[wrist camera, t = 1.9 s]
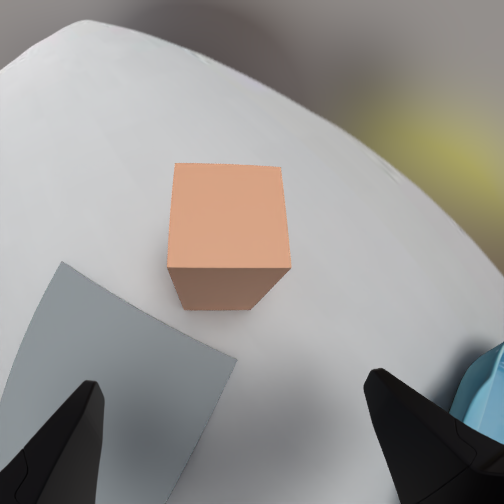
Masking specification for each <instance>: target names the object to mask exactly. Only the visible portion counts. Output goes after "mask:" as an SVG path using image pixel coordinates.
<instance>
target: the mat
mask: <svg viewBox="0 0 504 504" xmlns="http://www.w3.org/2000/svg"><path fill="white" fill-rule="evenodd" d="M236 362H237V359H235V358H233V357H230V356H228V355H226V354H224V353H222V352H220V351H218V350H215V349H213V348H211V347H209V346H207V345H205V344H203V343H201V342H199V341H197V340H195V339H193V338H191V337H189V336H187V335H185V334H183V333H181V332H179V331H177V330H175V329H174V328H172V327H170V326H168V325H166V324H164V323H162V322H160V321H159V320H157V319H155V318H153V317H151V316H150V315H148V314H146V313H144V312H142V311H141V310H139V309H137V308H135V307H134V306H132V305H130V304H129V303H127V302H125V301H123V300H122V299H120V298H118V297H117V296H115V295H113V294H112V293H110V292H109V291H107V290H105V289H104V288H102V287H100V286H99V285H97V284H96V283H94V282H93V281H91V280H89V279H88V278H86V277H85V276H83V275H82V274H80V273H79V272H77V271H76V270H74V269H73V268H71V267H70V266H68V265H67V264H65V263H64V262H61V263H60V265H59V267H58V269H57V271H56V272H55V274H54V276H53V278H52V280H51V282H50V283H49V285H48V287H47V289H46V291H45V293H44V295H43V297H42V299H41V301H40V303H39V305H38V307H37V309H36V311H35V313H34V315H33V318H32V320H31V322H30V324H29V326H28V329H27V331H26V333H25V336H24V338H23V340H22V343H21V345H20V348H19V350H18V353H17V355H16V358H15V360H14V363H13V366H12V368H11V371H10V374H9V377H8V380H7V383H6V386H5V389H4V392H3V395H2V399H1V402H0V471H1V470H2V469H3V468H4V467H5V466H7V465H8V464H9V462H10V461H11V460H12V459H13V458H14V457H15V456H16V455H17V454H18V453H19V451H20V450H21V449H24V446H25V445H26V444H27V443H28V441H29V440H30V439H31V438H32V437H33V436H34V435H35V434H36V432H37V431H38V430H39V429H40V428H41V427H42V426H43V425H44V424H45V422H46V421H47V420H48V419H49V418H50V417H51V416H52V415H53V414H54V413H55V411H56V410H57V409H58V408H59V407H60V406H61V405H62V404H63V403H64V402H65V401H66V399H67V398H68V397H69V396H70V395H71V394H72V393H73V392H74V391H75V390H76V389H77V388H78V387H79V386H80V384H81V383H82V382H83V381H85V380H93V381H97V382H98V384H99V386H100V388H101V391H102V393H103V395H104V399H105V407H104V422H103V442H102V450H101V457H100V464H99V472H98V480H97V490H96V500H95V504H166V502H167V500H168V498H169V496H170V494H171V492H172V490H173V489H174V487H175V485H176V483H177V481H178V479H179V477H180V475H181V473H182V471H183V470H184V468H185V466H186V464H187V462H188V460H189V458H190V456H191V454H192V452H193V450H194V448H195V446H196V444H197V442H198V440H199V438H200V436H201V434H202V432H203V430H204V428H205V426H206V424H207V422H208V420H209V418H210V416H211V414H212V412H213V410H214V408H215V406H216V404H217V402H218V400H219V398H220V396H221V394H222V391H223V389H224V387H225V385H226V383H227V381H228V379H229V377H230V375H231V373H232V371H233V368H234V366H235V364H236Z"/></svg>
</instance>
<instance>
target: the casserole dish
mask: <svg viewBox="0 0 504 504" xmlns="http://www.w3.org/2000/svg"><path fill="white" fill-rule="evenodd" d="M449 414H451V415H452V416H454V418H457V419H458V420H460V421H461V422H463V423H464V424H466V425H468V426H469V427H471V428H473V429H474V430H476V431H478V432H480V433H482V434H484V435H486V436H488V437H490V438H492V439H494V440H495V441H497V442H499V443H502V444H504V342H503V343H501V344H500V345H498V346H496V347H495V348H493V349H491V350H490V351H488V352H486V353H485V354H483V355H482V356H481V357H479V358H478V359H477V360H476V361H475V362H473V364H472V365H471V366H470V367H469V368H468V370H467V371H466V373H465V375H464V377H463V378H462V381H461V383H460V385H459V388H458V390H457V393H456V396H455V398H454V401H453V403H452V406H451V409H450V411H449Z"/></svg>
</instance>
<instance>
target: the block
mask: <svg viewBox="0 0 504 504" xmlns="http://www.w3.org/2000/svg"><path fill="white" fill-rule="evenodd" d="M167 268H168V271H169V274H170V276H171V279H172V281H173V284H174V286H175V289H176V291H177V294H178V296H179V299H180V301H181V304H182V306H183V308H184V310H251V309H252V308H253V307H254V306H255V305H256V304H257V303H258V302H259V301H260V300H261V299H262V298H263V297H264V296H265V295H266V294H267V292H268V291H269V290H270V289H271V288H272V287H273V286H274V285H275V284H276V283H277V282H278V281H279V280H280V279H281V278H282V277H283V276H284V275H285V274H286V273H287V272H288V271H289V270H290V269H291V258H290V248H289V237H288V227H287V218H286V208H285V199H284V190H283V182H282V173H281V167H270V166H254V165H234V164H202V163H175V169H174V178H173V188H172V199H171V211H170V224H169V239H168V258H167Z"/></svg>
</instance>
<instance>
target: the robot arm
mask: <svg viewBox="0 0 504 504" xmlns="http://www.w3.org/2000/svg"><path fill="white" fill-rule="evenodd" d="M364 394H365V397H366V401H367V405H368V409H369V412H370V416H371V420H372V424H373V427H374V430H375V432H376V435H377V438H378V440H379V443H380V446H381V448H382V451H383V454H384V457H385V459H386V462H387V465H388V468H389V471H390V473H391V476H392V479H393V482H394V485H395V488H396V491H397V494H398V497H399V500H400V503H401V504H504V444H502V443H499V442H497V441H495V440H494V439H492V438H490V437H488V436H486V435H484V434H482V433H480V432H478V431H476V430H474V429H473V428H471V427H469V426H468V425H466V424H464V423H463V422H461V421H460V420H458V419H457V418H454V416H452V415H451V414H449V413H448V412H446V411H445V410H443V409H442V408H440V407H439V406H437V405H436V404H434V403H433V402H431V401H430V400H428V399H427V398H425V397H424V396H423V395H421V394H420V393H418V392H417V391H415V390H414V389H412V388H411V387H409V386H408V385H406V384H405V383H404V382H402V381H401V380H399V379H398V378H396V377H395V376H393V375H392V374H390V373H389V372H388V371H386V370H385V369H383V368H378V369H373V370H371V371H370V373H369V375H368V377H367V379H366V381H365V383H364ZM104 407H105V399H104V395H103V393H102V391H101V388H100V386H99V384H98V382H97V381H93V380H85V381H83V382H82V383H81V384H80V386H79V387H78V388H77V389H76V390H75V391H74V392H73V393H72V394H71V395H70V396H69V397H68V398H67V399H66V401H65V402H64V403H63V404H62V405H61V406H60V407H59V408H58V409H57V410H56V411H55V413H54V414H53V415H52V416H51V417H50V418H49V419H48V420H47V421H46V422H45V424H44V425H43V426H42V427H41V428H40V429H39V430H38V431H37V432H36V434H35V435H34V436H33V437H32V438H31V439H30V440H29V441H28V443H27V444H26V445H25V446H24V449H21V450H20V451H19V453H18V454H17V455H16V456H15V457H14V458H13V459H12V460H11V461H10V462H9V464H8V465H7V466H5V467H4V468H3V469H2V470H1V471H0V504H95V500H96V490H97V480H98V472H99V464H100V457H101V450H102V442H103V422H104Z"/></svg>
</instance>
